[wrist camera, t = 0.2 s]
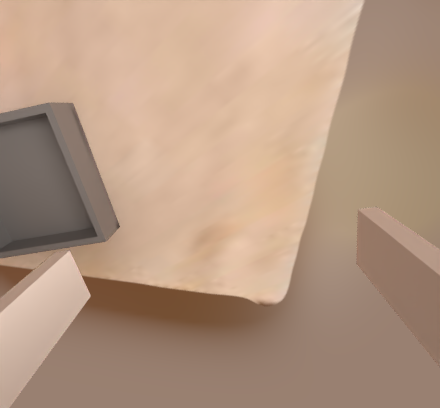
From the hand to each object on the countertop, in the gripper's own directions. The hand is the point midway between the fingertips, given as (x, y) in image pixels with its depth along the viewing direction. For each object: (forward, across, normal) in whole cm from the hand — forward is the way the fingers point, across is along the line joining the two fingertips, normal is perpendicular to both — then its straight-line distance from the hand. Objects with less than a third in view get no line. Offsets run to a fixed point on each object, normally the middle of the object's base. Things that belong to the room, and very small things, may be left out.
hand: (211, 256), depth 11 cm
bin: (+28, -30, 0) cm, 41 cm away
